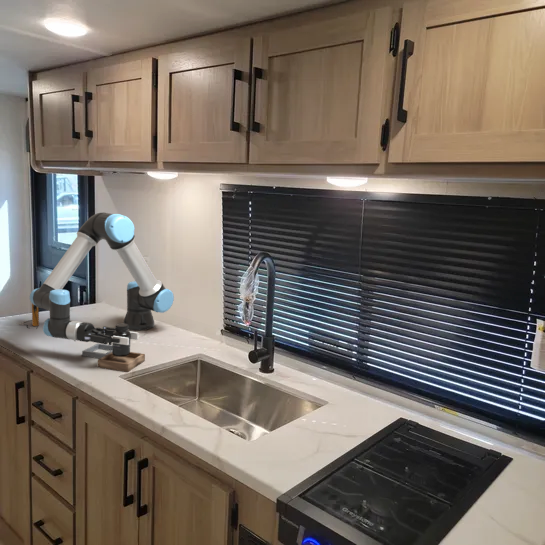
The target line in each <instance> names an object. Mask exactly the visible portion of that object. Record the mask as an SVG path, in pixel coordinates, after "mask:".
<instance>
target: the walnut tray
mask: <svg viewBox="0 0 545 545" xmlns="http://www.w3.org/2000/svg"><path fill="white" fill-rule="evenodd" d="M145 362H146V353H141V352H140V353H139V352H133V351H130V354H129V355H128V356H125V357H117V356H114V355H113V354H112V352H111V353H109V354H108V355H106V356H104V357H102V358H98V359H97V368H98V367H100V368H99V369H105V368H106V370H113V371H117V372H118V371H120V372H125V373H129V372H130V371H131V370H133V369H135V368H137V367H139V366H140V365H142V364H143V363H145Z"/></svg>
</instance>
